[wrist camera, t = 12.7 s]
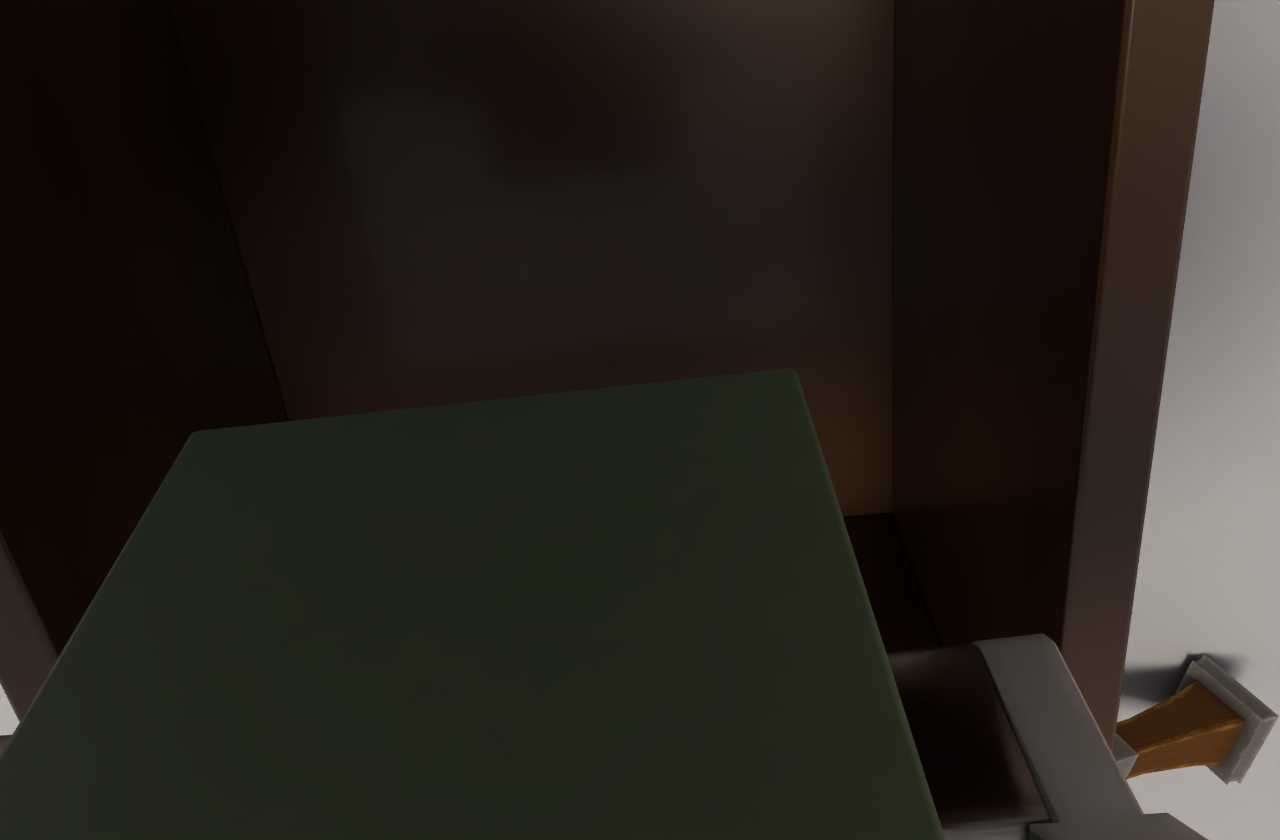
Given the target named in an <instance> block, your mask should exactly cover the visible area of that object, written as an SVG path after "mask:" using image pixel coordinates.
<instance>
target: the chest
mask: <svg viewBox="0 0 1280 840" xmlns="http://www.w3.org/2000/svg"><path fill="white" fill-rule="evenodd" d="M1213 7H1214V0H0V683H1V685H2V687H3V689H4V691H5V693H6V695H7V697H8V699H9V701H10V704H11V706H12V708H13V710H14V712H15V714H16V716H17V718H18V720H19V722H21V720H22V718H23V717H24V715H25V713H26V712H27V710H28V708H29V706H30V705H31V703H32V701H33V700H34V698H35V696H36V695H37V693H38V691H39V690H40V688H41V686H42V685H43V683H44V681H45V679H46V678H47V676H48V674H49V673H50V671H51V669H52V668H53V666H54V664H55V663H56V661H57V659H58V658H59V656H60V654H61V652H62V651H63V649H64V647H65V646H66V644H67V642H68V641H69V639H70V637H71V636H72V634H73V632H74V631H75V629H76V627H77V625H78V624H79V622H80V620H81V619H82V617H83V615H84V614H85V612H86V610H87V609H88V607H89V605H90V604H91V602H92V600H93V598H94V597H95V595H96V593H97V592H98V590H99V588H100V587H101V585H102V583H103V582H104V580H105V578H106V577H107V575H108V573H109V571H110V570H111V568H112V566H113V565H114V563H115V561H116V560H117V558H118V556H119V555H120V553H121V551H122V550H123V548H124V546H125V544H126V543H127V541H128V539H129V538H130V536H131V534H132V533H133V531H134V529H135V528H136V526H137V524H138V523H139V521H140V519H141V517H142V516H143V514H144V512H145V511H146V509H147V507H148V506H149V504H150V502H151V501H152V499H153V497H154V496H155V494H156V492H157V490H158V489H159V487H160V485H161V484H162V482H163V480H164V479H165V477H166V475H167V474H168V472H169V470H170V469H171V467H172V465H173V463H174V462H175V460H176V458H177V457H178V455H179V453H180V452H181V450H182V448H183V447H184V445H185V443H186V442H187V440H188V438H189V437H190V435H191V434H192V433H194V432H196V431H201V430H210V429H219V428H229V427H238V426H248V425H257V424H267V423H276V422H286V421H295V420H305V419H314V418H324V417H333V416H342V415H352V414H361V413H371V412H380V411H390V410H399V409H409V408H418V407H428V406H437V405H447V404H456V403H465V402H475V401H484V400H494V399H503V398H513V397H522V396H532V395H541V394H551V393H560V392H569V391H579V390H588V389H598V388H607V387H617V386H626V385H636V384H645V383H655V382H664V381H674V380H683V379H692V378H702V377H711V376H721V375H730V374H740V373H749V372H759V371H768V370H778V369H787V368H790V369H794V370H795V371H796V373H797V375H798V378H799V381H800V384H801V387H802V390H803V393H804V397H805V400H806V403H807V406H808V409H809V412H810V415H811V419H812V422H813V425H814V428H815V431H816V434H817V437H818V441H819V444H820V447H821V450H822V453H823V456H824V459H825V463H826V466H827V469H828V472H829V475H830V478H831V481H832V485H833V488H834V491H835V494H836V497H837V500H838V503H839V507H840V510H841V513H842V516H843V519H844V522H845V525H846V529H847V532H848V535H849V538H850V541H851V544H852V547H853V551H854V554H855V557H856V560H857V563H858V566H859V569H860V573H861V576H862V579H863V582H864V585H865V588H866V591H867V595H868V598H869V601H870V604H871V607H872V610H873V613H874V617H875V620H876V623H877V626H878V629H879V632H880V635H881V639H882V642H883V645H884V648H885V651H886V652H888V651H897V650H907V649H916V648H926V647H935V646H945V645H954V644H964V643H967V644H971V643H972V642H973V641H981V640H990V639H999V638H1007V637H1016V636H1025V635H1033V634H1042V633H1043V634H1045V635H1046V636H1047V637H1049V638H1050V639H1051V640H1053V641H1054V642H1055V644H1056V645H1057V647H1058V649H1059V651H1060V653H1061V655H1062V657H1063V659H1064V661H1065V663H1066V665H1067V667H1068V669H1069V671H1070V672H1071V674H1072V676H1073V678H1074V680H1075V682H1076V684H1077V686H1078V688H1079V690H1080V692H1081V694H1082V696H1083V698H1084V700H1085V701H1086V703H1087V705H1088V707H1089V709H1090V711H1091V713H1092V715H1093V717H1094V719H1095V721H1096V723H1097V725H1098V727H1099V728H1100V730H1101V732H1102V734H1103V736H1104V738H1105V740H1106V742H1107V744H1108V746H1109V748H1110V750H1111V752H1112V754H1113V747H1114V739H1115V732H1116V725H1117V717H1118V710H1119V702H1120V695H1121V688H1122V680H1123V673H1124V665H1125V658H1126V651H1127V643H1128V636H1129V628H1130V621H1131V614H1132V606H1133V599H1134V591H1135V584H1136V577H1137V569H1138V562H1139V554H1140V547H1141V540H1142V532H1143V525H1144V517H1145V510H1146V503H1147V495H1148V488H1149V480H1150V473H1151V466H1152V458H1153V451H1154V443H1155V436H1156V429H1157V421H1158V414H1159V406H1160V399H1161V392H1162V384H1163V377H1164V369H1165V362H1166V355H1167V347H1168V340H1169V332H1170V325H1171V318H1172V310H1173V303H1174V295H1175V288H1176V281H1177V273H1178V266H1179V258H1180V251H1181V244H1182V236H1183V229H1184V221H1185V214H1186V207H1187V199H1188V192H1189V184H1190V177H1191V170H1192V162H1193V155H1194V147H1195V140H1196V133H1197V125H1198V118H1199V110H1200V103H1201V96H1202V88H1203V81H1204V73H1205V66H1206V59H1207V51H1208V44H1209V36H1210V29H1211V22H1212V14H1213Z"/></svg>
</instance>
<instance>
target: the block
mask: <svg viewBox="0 0 1280 840" xmlns="http://www.w3.org/2000/svg"><path fill="white" fill-rule="evenodd" d="M0 840H945V837H944V834H943V830H942V827H941V824H940V821H939V818H938V815H937V812H936V808H935V805H934V802H933V799H932V796H931V793H930V790H929V786H928V783H927V780H926V777H925V774H924V771H923V768H922V764H921V761H920V758H919V755H918V752H917V749H916V746H915V742H914V739H913V736H912V733H911V730H910V727H909V724H908V720H907V717H906V714H905V711H904V708H903V705H902V702H901V698H900V695H899V692H898V689H897V686H896V683H895V680H894V676H893V673H892V670H891V667H890V664H889V661H888V658H887V654H886V651H885V648H884V645H883V642H882V639H881V635H880V632H879V629H878V626H877V623H876V620H875V617H874V613H873V610H872V607H871V604H870V601H869V598H868V595H867V591H866V588H865V585H864V582H863V579H862V576H861V573H860V569H859V566H858V563H857V560H856V557H855V554H854V551H853V547H852V544H851V541H850V538H849V535H848V532H847V529H846V525H845V522H844V519H843V516H842V513H841V510H840V507H839V503H838V500H837V497H836V494H835V491H834V488H833V485H832V481H831V478H830V475H829V472H828V469H827V466H826V463H825V459H824V456H823V453H822V450H821V447H820V444H819V441H818V437H817V434H816V431H815V428H814V425H813V422H812V419H811V415H810V412H809V409H808V406H807V403H806V400H805V397H804V393H803V390H802V387H801V384H800V381H799V378H798V375H797V373H796V371H795V370H794V369H790V368H787V369H778V370H768V371H759V372H749V373H740V374H730V375H721V376H711V377H702V378H692V379H683V380H674V381H664V382H655V383H645V384H636V385H626V386H617V387H607V388H598V389H588V390H579V391H569V392H560V393H551V394H541V395H532V396H522V397H513V398H503V399H494V400H484V401H475V402H465V403H456V404H447V405H437V406H428V407H418V408H409V409H399V410H390V411H380V412H371V413H361V414H352V415H342V416H333V417H324V418H314V419H305V420H295V421H286V422H276V423H267V424H257V425H248V426H238V427H229V428H219V429H210V430H201V431H196V432H194V433H192V434H191V435H190V437H189V438H188V440H187V442H186V443H185V445H184V447H183V448H182V450H181V452H180V453H179V455H178V457H177V458H176V460H175V462H174V463H173V465H172V467H171V469H170V470H169V472H168V474H167V475H166V477H165V479H164V480H163V482H162V484H161V485H160V487H159V489H158V490H157V492H156V494H155V496H154V497H153V499H152V501H151V502H150V504H149V506H148V507H147V509H146V511H145V512H144V514H143V516H142V517H141V519H140V521H139V523H138V524H137V526H136V528H135V529H134V531H133V533H132V534H131V536H130V538H129V539H128V541H127V543H126V544H125V546H124V548H123V550H122V551H121V553H120V555H119V556H118V558H117V560H116V561H115V563H114V565H113V566H112V568H111V570H110V571H109V573H108V575H107V577H106V578H105V580H104V582H103V583H102V585H101V587H100V588H99V590H98V592H97V593H96V595H95V597H94V598H93V600H92V602H91V604H90V605H89V607H88V609H87V610H86V612H85V614H84V615H83V617H82V619H81V620H80V622H79V624H78V625H77V627H76V629H75V631H74V632H73V634H72V636H71V637H70V639H69V641H68V642H67V644H66V646H65V647H64V649H63V651H62V652H61V654H60V656H59V658H58V659H57V661H56V663H55V664H54V666H53V668H52V669H51V671H50V673H49V674H48V676H47V678H46V679H45V681H44V683H43V685H42V686H41V688H40V690H39V691H38V693H37V695H36V696H35V698H34V700H33V701H32V703H31V705H30V706H29V708H28V710H27V712H26V713H25V715H24V717H23V718H22V720H21V722H20V723H19V725H18V727H17V728H16V730H15V732H14V733H13V735H12V737H11V738H10V740H9V742H8V744H7V745H6V747H5V749H4V750H3V752H2V754H1V755H0Z"/></svg>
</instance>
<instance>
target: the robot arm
mask: <svg viewBox="0 0 1280 840" xmlns="http://www.w3.org/2000/svg"><path fill="white" fill-rule="evenodd" d="M886 654H887V658H888V661H889V664H890V667H891V670H892V673H893V676H894V680H895V683H896V686H897V689H898V692H899V695H900V698H901V702H902V705H903V708H904V711H905V714H906V717H907V720H908V724H909V727H910V730H911V733H912V736H913V739H914V742H915V746H916V749H917V752H918V755H919V758H920V761H921V764H922V768H923V771H924V774H925V777H926V780H927V783H928V786H929V790H930V793H931V796H932V799H933V802H934V805H935V808H936V812H937V815H938V818H939V821H940V824H941V827H942V830H943V834H944V837H945V840H1208V839H1206V838H1205V837H1203V836H1202V835H1200V834H1199V833H1197V832H1196V831H1194V830H1193V829H1191V828H1190V827H1188V826H1187V825H1185V824H1184V823H1182V822H1181V821H1179V820H1178V819H1176V818H1175V817H1173V816H1172V815H1170V814H1169V813H1157V814H1144V813H1143V812H1142V810H1141V808H1140V806H1139V804H1138V802H1137V800H1136V798H1135V796H1134V794H1133V792H1132V790H1131V788H1130V786H1129V784H1128V783H1127V781H1126V779H1125V777H1124V775H1123V773H1122V771H1121V769H1120V767H1119V765H1118V763H1117V761H1116V759H1115V757H1114V756H1113V754H1112V752H1111V750H1110V748H1109V746H1108V744H1107V742H1106V740H1105V738H1104V736H1103V734H1102V732H1101V730H1100V728H1099V727H1098V725H1097V723H1096V721H1095V719H1094V717H1093V715H1092V713H1091V711H1090V709H1089V707H1088V705H1087V703H1086V701H1085V700H1084V698H1083V696H1082V694H1081V692H1080V690H1079V688H1078V686H1077V684H1076V682H1075V680H1074V678H1073V676H1072V674H1071V672H1070V671H1069V669H1068V667H1067V665H1066V663H1065V661H1064V659H1063V657H1062V655H1061V653H1060V651H1059V649H1058V647H1057V645H1056V644H1055V642H1054V641H1053V640H1051V639H1050V638H1049V637H1047V636H1046V635H1045V634H1043V633H1042V634H1033V635H1025V636H1016V637H1007V638H999V639H990V640H981V641H973V642H972V643H971V644H967V643H964V644H954V645H945V646H935V647H926V648H916V649H907V650H897V651H888V652H886ZM11 737H12V735H3V736H0V755H1V754H2V752H3V750H4V749H5V747H6V745H7V744H8V742H9V740H10V738H11Z"/></svg>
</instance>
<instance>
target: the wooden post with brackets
mask: <svg viewBox="0 0 1280 840" xmlns="http://www.w3.org/2000/svg"><path fill="white" fill-rule="evenodd" d="M1278 717H1279V716H1278V715H1277V714H1276V713H1274V712H1273V711H1272V710H1271V709H1270V708H1268V707H1267V706H1266V705H1265V704H1264V703H1262V702H1261V701H1260V700H1259V699H1258V698H1256V697H1255V696H1254V695H1253V694H1252V693H1250V692H1249V691H1248V690H1247V689H1246V688H1244V687H1243V686H1242V685H1241V684H1239V683H1238V682H1237V681H1236V680H1235V679H1233V678H1232V677H1231V676H1230V675H1229V674H1227V673H1226V672H1225V671H1224V670H1223V669H1221V668H1220V667H1219V666H1218V665H1217V664H1215V663H1214V662H1213V661H1212V660H1211V659H1209V658H1208V657H1207V656H1206V655H1205V654H1204V655H1203V657H1202V659H1200V660H1198V661H1192V662H1191V664H1190V666H1189V668H1188V670H1187V672H1186V674H1185V676H1184V678H1183V680H1182V681H1181V683H1180V685H1179V687H1178V689H1177V691H1176V693H1175V695H1174V696H1172V697H1170V698H1168V699H1167V700H1165V701H1163V702H1161V703H1159V704H1157V705H1155V706H1153V707H1151V708H1149V709H1147V710H1145V711H1143V712H1141V713H1139V714H1137V715H1135V716H1133V717H1131V718H1129V719H1127V720H1124V721H1121V722H1118V723H1117V725H1116V732H1115V739H1114V747H1113V756H1114V757H1115V759H1116V761H1117V763H1118V765H1119V767H1120V769H1121V771H1122V773H1123V775H1124V777H1125V779H1128V778H1132V777H1135V776H1138V775H1141V774H1145V773H1151V772H1157V771H1164V770H1170V769H1176V768H1183V767H1189V766H1195V765H1206V766H1207V767H1208V768H1209V769H1210V770H1211V771H1212V772H1213V773H1215V774H1216V775H1217V776H1218V777H1219V778H1220V779H1221V780H1222V781H1223V782H1224V783H1225V784H1228V783H1229V782H1231V781H1237V782H1238V783H1241V781H1242V780H1243V778H1244V776H1245V774H1246V773H1247V771H1248V769H1249V767H1250V766H1251V764H1252V762H1253V760H1254V759H1255V757H1256V755H1257V753H1258V752H1259V750H1260V748H1261V746H1262V745H1263V743H1264V741H1265V740H1266V738H1267V736H1268V734H1269V733H1270V731H1271V729H1272V727H1273V726H1274V724H1275V722H1276V720H1277V719H1278Z"/></svg>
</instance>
